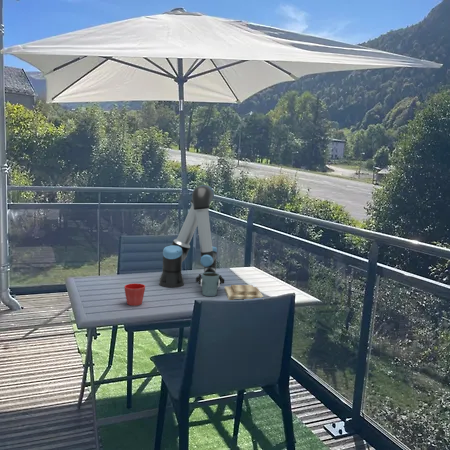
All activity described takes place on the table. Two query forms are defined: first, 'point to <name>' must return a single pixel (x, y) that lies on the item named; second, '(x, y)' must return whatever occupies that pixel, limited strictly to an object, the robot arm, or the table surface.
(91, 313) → the table surface
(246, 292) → the stepped square base
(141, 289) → the flower pot
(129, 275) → the table surface
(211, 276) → the blue-grey embossed cup
